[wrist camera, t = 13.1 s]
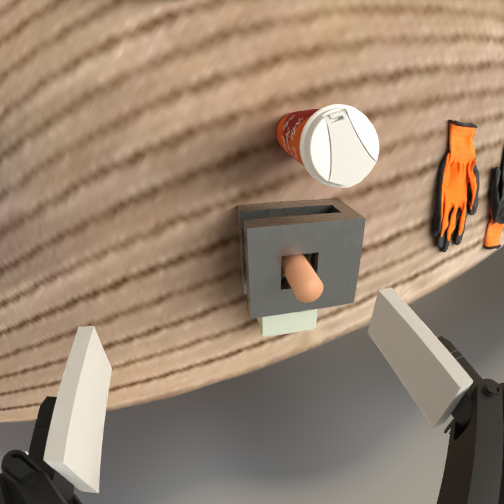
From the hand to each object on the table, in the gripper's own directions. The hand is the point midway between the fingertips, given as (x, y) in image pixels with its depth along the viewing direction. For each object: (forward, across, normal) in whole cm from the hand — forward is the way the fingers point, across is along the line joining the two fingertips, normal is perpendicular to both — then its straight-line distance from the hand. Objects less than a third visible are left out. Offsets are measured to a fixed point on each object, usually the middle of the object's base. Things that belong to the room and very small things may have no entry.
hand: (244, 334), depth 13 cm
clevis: (+28, +10, -10) cm, 31 cm away
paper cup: (+28, +12, +5) cm, 31 cm away
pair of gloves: (+27, +50, -2) cm, 57 cm away
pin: (+28, +10, -10) cm, 31 cm away
